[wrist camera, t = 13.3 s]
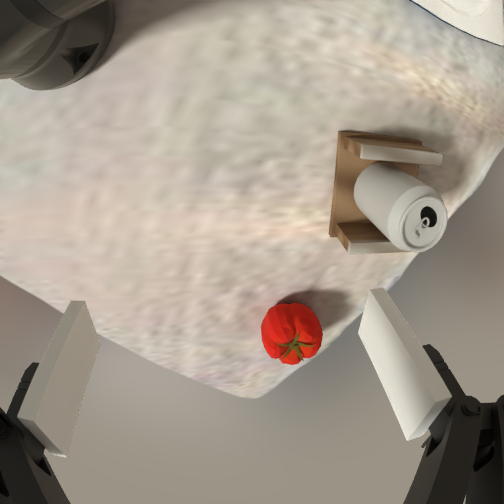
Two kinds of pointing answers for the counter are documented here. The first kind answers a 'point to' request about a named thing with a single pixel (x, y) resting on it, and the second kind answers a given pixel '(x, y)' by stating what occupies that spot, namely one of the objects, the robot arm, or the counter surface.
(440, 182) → the counter surface
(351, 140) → the cradle holder
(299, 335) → the tomato
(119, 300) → the counter surface
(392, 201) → the can
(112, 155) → the counter surface
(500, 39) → the plate
